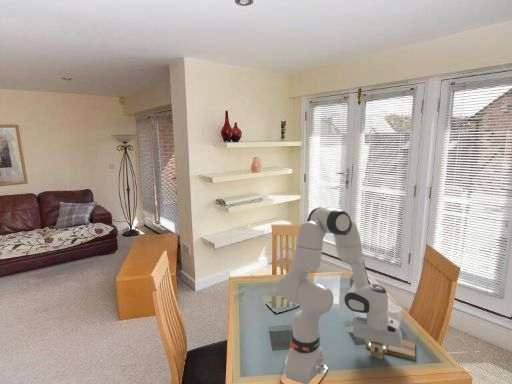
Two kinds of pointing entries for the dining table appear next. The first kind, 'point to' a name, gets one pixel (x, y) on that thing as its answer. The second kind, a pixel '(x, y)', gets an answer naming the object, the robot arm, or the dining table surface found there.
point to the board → (402, 349)
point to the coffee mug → (351, 280)
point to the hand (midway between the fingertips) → (377, 349)
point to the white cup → (394, 312)
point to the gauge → (377, 349)
